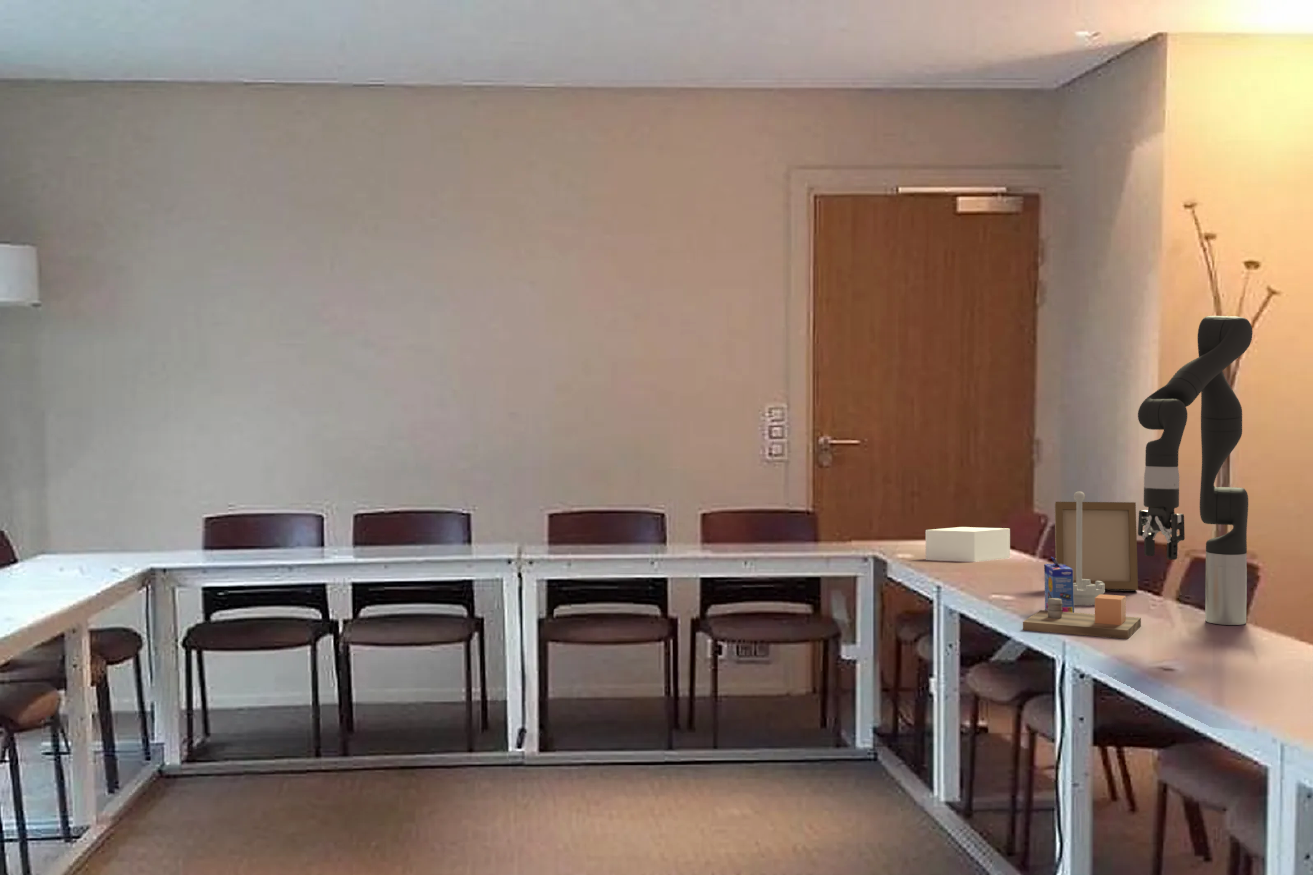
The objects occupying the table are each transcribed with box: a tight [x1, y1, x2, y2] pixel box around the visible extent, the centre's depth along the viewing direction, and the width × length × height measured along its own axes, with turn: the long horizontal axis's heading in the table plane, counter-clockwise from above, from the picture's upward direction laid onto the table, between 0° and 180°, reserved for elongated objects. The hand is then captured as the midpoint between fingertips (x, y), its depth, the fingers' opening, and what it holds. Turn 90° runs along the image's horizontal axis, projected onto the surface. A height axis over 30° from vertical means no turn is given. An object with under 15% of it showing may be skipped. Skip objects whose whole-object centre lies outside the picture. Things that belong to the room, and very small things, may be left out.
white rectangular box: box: [925, 526, 1011, 563], centre depth 437 cm, size 14×29×10 cm, turn 94°
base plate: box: [1022, 598, 1142, 640], centre depth 313 cm, size 18×24×6 cm
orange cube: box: [1094, 593, 1127, 625], centre depth 310 cm, size 6×6×6 cm
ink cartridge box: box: [1043, 556, 1075, 613], centre depth 333 cm, size 10×6×14 cm, turn 177°
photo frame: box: [1054, 501, 1139, 592], centre depth 373 cm, size 15×22×25 cm
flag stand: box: [1073, 491, 1106, 606], centre depth 350 cm, size 13×13×30 cm
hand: (1160, 557), depth 295 cm, fingers open, 8 cm apart
